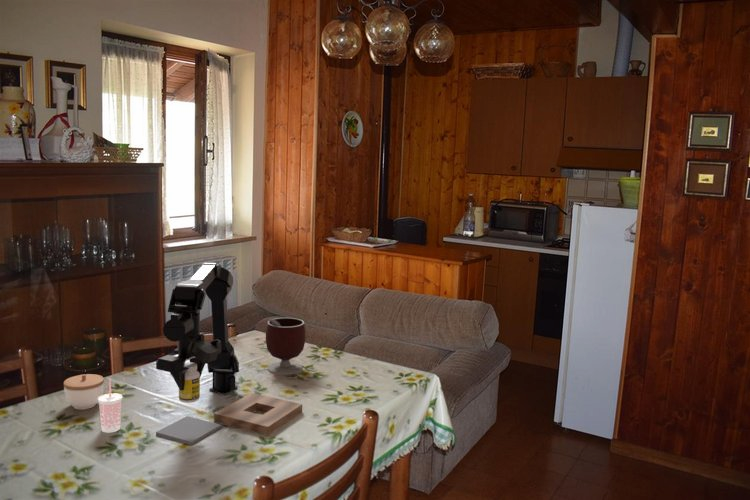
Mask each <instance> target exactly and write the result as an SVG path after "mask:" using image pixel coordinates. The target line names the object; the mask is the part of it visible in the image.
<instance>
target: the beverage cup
mask: <svg viewBox="0 0 750 500" xmlns="http://www.w3.org/2000/svg"><path fill="white" fill-rule="evenodd" d="M108 391H109V392H108V393H105V394H104V393H103V394H102V395H101V396H100V397H98V402H97V403H98V405H99V407H98V408H99V415H100V416H99V417H100V426H101V432H103V433H107V434H109V433H115V432H117V431H119V430H120V429H121V419H122V418H121V417H122V400H123V397H124V396H123V394H120V393H115V392H114V393H112V379H111V378H109V379H108Z"/></svg>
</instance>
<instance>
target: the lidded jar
mask: <svg viewBox="0 0 750 500" xmlns="http://www.w3.org/2000/svg"><path fill="white" fill-rule="evenodd" d="M104 386H105V378H104V377H103V376H102V375H100V374H96V373H95V374H92V373H87V374H79V375H74V376H70V377H68V378H66V379H65V380H64V381H63V391H64V397H65V399H66V401H67V403H68V404H69V405H70V406H72V407H74V408H73V409H75V410H88V409H91V408H94V407H95V406H96V405H97V403H99V402H98V397H100V396H101V395H104Z"/></svg>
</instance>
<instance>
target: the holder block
mask: <svg viewBox="0 0 750 500" xmlns="http://www.w3.org/2000/svg"><path fill="white" fill-rule="evenodd" d="M255 412H261V413H263V414H261V413H260V414H259V413H255ZM302 413H303V404H302V403H299V402H295V401H291V400H289V401H288V400H285V399H280V398H277V397H271V396H268V395H264V394H258V393H254V392H250V393H249V394H247V395H245V396H243V397H242V398H240V399H238V400H236V401H234V402H233V403H231V404H229V405H227V406H225V407H223V408H222V409H220V410H218V411H216V412H214V413H213V423H216V424H220V425H224V426H229V427H233V428H237V429H241V430H243V431H249V432H252V433H256V434H259V435H264V436H269V435H271V434H272V433H274V432H275V431H277V430H278V429H280V428H281V427H283V426H284V425H286V424H287V423H289V422H290V421H291V420H293V419H294V418H296V417H297V416H299V415H301V414H302Z"/></svg>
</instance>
